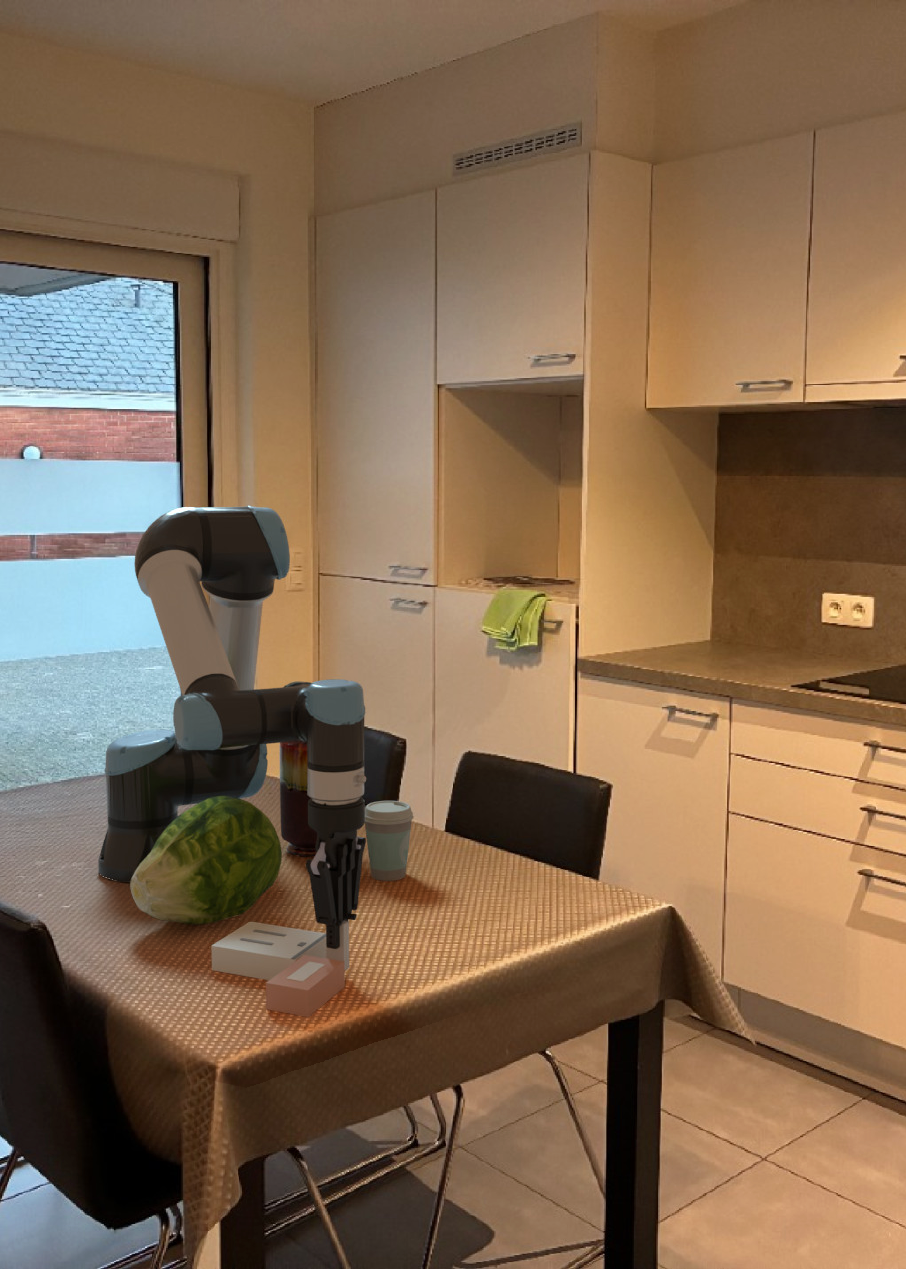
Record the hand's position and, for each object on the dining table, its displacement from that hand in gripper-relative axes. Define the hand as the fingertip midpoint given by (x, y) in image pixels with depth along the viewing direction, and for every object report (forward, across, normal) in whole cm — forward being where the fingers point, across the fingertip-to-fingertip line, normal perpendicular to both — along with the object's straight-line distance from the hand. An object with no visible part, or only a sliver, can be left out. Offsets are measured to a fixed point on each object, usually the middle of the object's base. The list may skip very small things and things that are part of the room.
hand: (337, 967), depth 168 cm
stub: (+1, -8, 0) cm, 8 cm away
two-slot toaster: (+1, 0, +10) cm, 10 cm away
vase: (+2, +49, +31) cm, 58 cm away
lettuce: (+2, +12, +29) cm, 31 cm away
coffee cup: (+2, +41, +12) cm, 43 cm away
